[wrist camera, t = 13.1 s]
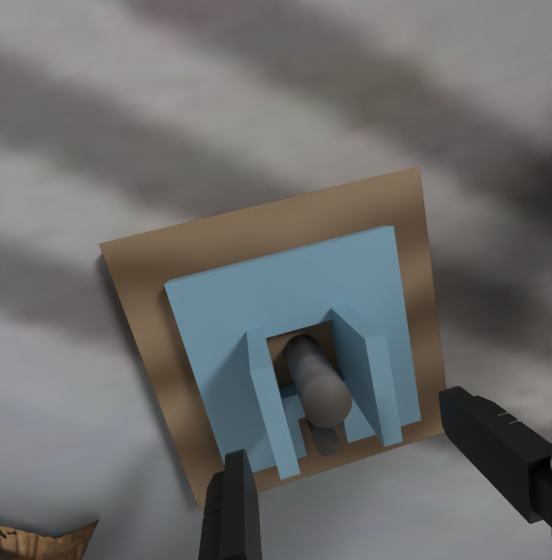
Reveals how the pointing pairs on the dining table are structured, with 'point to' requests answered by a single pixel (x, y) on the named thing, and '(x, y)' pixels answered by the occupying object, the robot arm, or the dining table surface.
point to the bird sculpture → (44, 545)
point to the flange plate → (291, 316)
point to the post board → (291, 345)
